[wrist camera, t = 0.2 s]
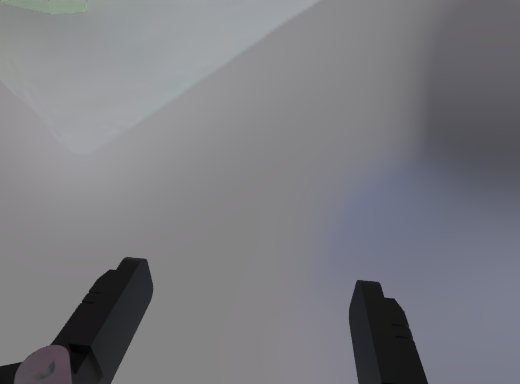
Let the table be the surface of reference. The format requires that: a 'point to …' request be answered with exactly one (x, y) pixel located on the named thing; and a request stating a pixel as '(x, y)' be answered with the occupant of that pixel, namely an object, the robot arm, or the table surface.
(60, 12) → the green block
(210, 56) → the table surface
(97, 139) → the table surface
